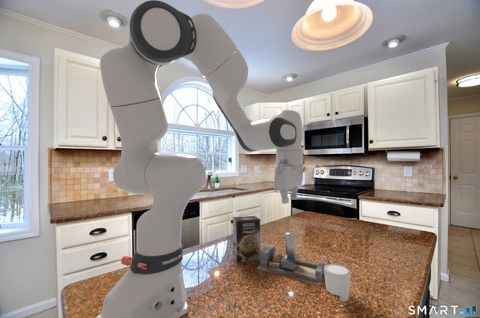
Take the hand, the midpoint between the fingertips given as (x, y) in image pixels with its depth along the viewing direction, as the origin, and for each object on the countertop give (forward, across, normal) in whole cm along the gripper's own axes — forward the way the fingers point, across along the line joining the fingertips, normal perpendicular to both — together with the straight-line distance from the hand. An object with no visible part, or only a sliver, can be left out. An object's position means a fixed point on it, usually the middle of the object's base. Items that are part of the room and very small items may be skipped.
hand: (289, 201), depth 74 cm
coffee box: (+24, 0, +17) cm, 29 cm away
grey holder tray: (+24, -1, 0) cm, 24 cm away
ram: (+22, -1, 0) cm, 22 cm away
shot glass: (+24, -6, -15) cm, 29 cm away
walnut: (+22, -1, +4) cm, 22 cm away
